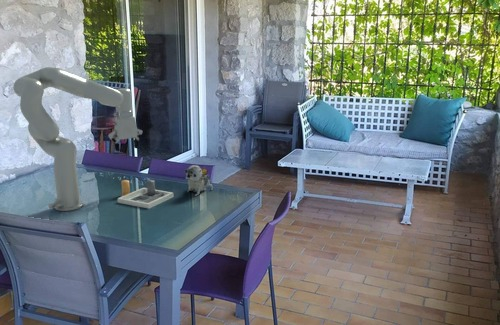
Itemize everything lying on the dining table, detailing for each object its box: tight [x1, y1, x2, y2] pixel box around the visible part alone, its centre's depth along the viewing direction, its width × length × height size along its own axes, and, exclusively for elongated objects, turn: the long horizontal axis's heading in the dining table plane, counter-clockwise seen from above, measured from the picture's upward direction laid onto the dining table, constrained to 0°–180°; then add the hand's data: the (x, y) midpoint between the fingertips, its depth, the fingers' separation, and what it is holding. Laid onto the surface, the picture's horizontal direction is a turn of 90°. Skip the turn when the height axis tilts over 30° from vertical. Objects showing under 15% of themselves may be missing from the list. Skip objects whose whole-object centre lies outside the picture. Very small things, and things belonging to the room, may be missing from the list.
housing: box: [117, 187, 174, 210], centre depth 226 cm, size 18×18×3 cm
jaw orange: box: [120, 179, 131, 197], centre depth 232 cm, size 5×5×8 cm
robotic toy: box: [184, 164, 214, 197], centre depth 236 cm, size 13×17×15 cm
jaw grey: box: [146, 179, 156, 197], centre depth 229 cm, size 5×5×8 cm
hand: (127, 149), depth 237 cm, fingers open, 9 cm apart
